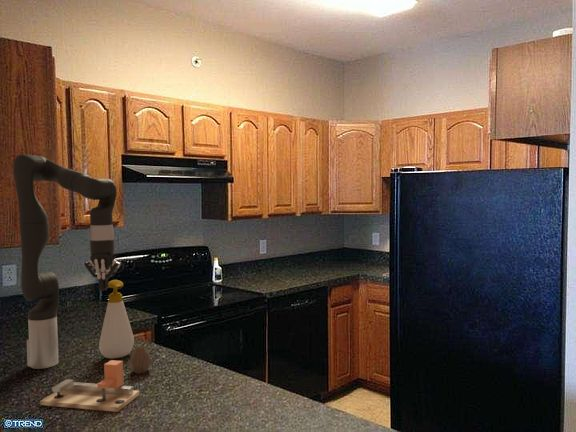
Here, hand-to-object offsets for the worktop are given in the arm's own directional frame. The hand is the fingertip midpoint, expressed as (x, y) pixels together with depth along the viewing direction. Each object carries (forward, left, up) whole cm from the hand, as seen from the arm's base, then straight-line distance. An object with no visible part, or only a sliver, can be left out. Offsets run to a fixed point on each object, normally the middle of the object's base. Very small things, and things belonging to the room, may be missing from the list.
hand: (103, 289), depth 165 cm
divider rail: (+7, -19, -28) cm, 34 cm away
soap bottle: (-6, +17, -29) cm, 34 cm away
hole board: (+7, -19, -29) cm, 35 cm away
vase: (+10, +5, -29) cm, 31 cm away
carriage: (+13, -18, -27) cm, 35 cm away
